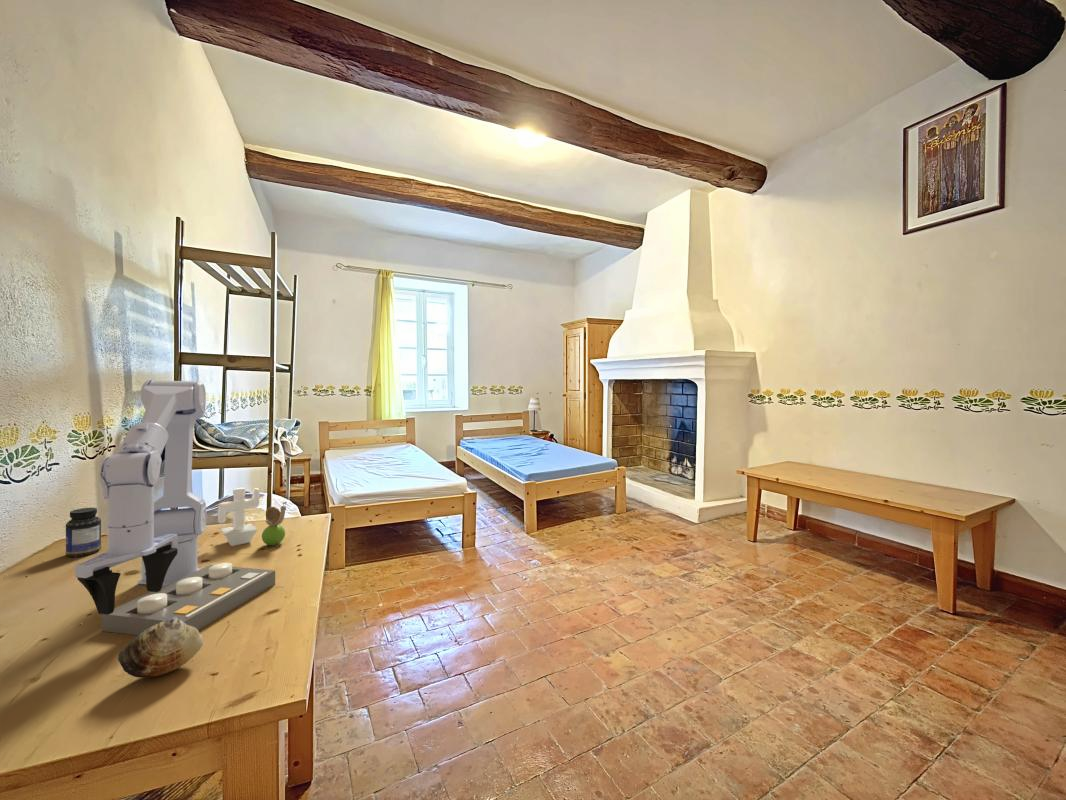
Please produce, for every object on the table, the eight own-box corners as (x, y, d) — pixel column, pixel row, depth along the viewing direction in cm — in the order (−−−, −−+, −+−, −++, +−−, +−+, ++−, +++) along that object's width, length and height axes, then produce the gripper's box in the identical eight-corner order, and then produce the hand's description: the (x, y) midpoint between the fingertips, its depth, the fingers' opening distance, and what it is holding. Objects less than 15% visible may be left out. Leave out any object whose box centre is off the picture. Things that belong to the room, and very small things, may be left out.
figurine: (215, 542, 115) (215, 488, 115) (256, 534, 122) (256, 483, 121) (220, 550, 110) (220, 493, 109) (262, 541, 116) (262, 487, 116)
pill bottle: (69, 551, 107) (69, 508, 106) (103, 546, 110) (103, 505, 110) (62, 559, 102) (62, 514, 102) (97, 554, 105) (97, 510, 105)
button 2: (203, 584, 88) (203, 569, 88) (220, 575, 92) (220, 562, 92) (220, 585, 87) (220, 571, 87) (236, 577, 91) (236, 563, 91)
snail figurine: (277, 549, 111) (277, 504, 111) (256, 547, 112) (257, 502, 112) (292, 542, 116) (293, 499, 116) (273, 540, 117) (273, 497, 117)
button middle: (170, 600, 81) (170, 585, 81) (190, 590, 85) (190, 576, 85) (188, 602, 80) (188, 586, 80) (207, 592, 84) (207, 577, 84)
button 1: (130, 620, 74) (130, 603, 74) (154, 608, 78) (154, 592, 78) (150, 622, 73) (150, 605, 73) (173, 610, 77) (173, 594, 77)
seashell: (202, 651, 68) (202, 602, 68) (203, 670, 63) (204, 618, 63) (120, 676, 62) (120, 622, 62) (115, 698, 57) (115, 641, 57)
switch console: (101, 630, 73) (101, 612, 73) (210, 578, 94) (210, 563, 94) (182, 640, 71) (182, 621, 71) (275, 584, 91) (275, 569, 91)
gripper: (102, 539, 64) (102, 626, 64) (191, 512, 78) (191, 584, 79) (63, 535, 65) (63, 622, 65) (159, 510, 79) (159, 581, 80)
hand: (131, 601), depth 72 cm, fingers open, 7 cm apart
